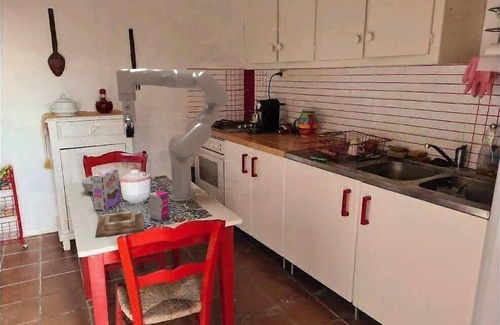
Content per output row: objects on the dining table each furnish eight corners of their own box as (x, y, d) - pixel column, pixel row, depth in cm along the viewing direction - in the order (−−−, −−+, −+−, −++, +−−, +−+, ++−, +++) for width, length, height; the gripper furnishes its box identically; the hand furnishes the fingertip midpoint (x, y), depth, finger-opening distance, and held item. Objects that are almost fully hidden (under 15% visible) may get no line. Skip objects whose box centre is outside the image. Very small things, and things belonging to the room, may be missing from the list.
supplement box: (160, 221, 156) (158, 196, 153) (150, 219, 159) (148, 193, 156) (169, 217, 161) (168, 192, 158) (159, 214, 164) (158, 189, 161)
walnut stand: (142, 215, 163) (142, 207, 163) (144, 231, 147) (143, 223, 146) (98, 220, 158) (97, 212, 157) (95, 237, 141) (94, 229, 141)
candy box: (105, 211, 168) (101, 176, 165) (93, 210, 170) (89, 175, 166) (121, 201, 182) (118, 168, 178) (110, 200, 183) (107, 168, 179)
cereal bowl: (100, 185, 208) (98, 172, 206) (123, 188, 202) (122, 175, 200) (75, 194, 193) (74, 181, 191) (100, 197, 187) (99, 184, 185)
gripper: (135, 98, 156) (138, 138, 160) (136, 96, 173) (139, 132, 177) (117, 98, 154) (120, 139, 159) (119, 96, 171) (122, 133, 175)
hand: (130, 135), depth 168 cm, fingers open, 9 cm apart
